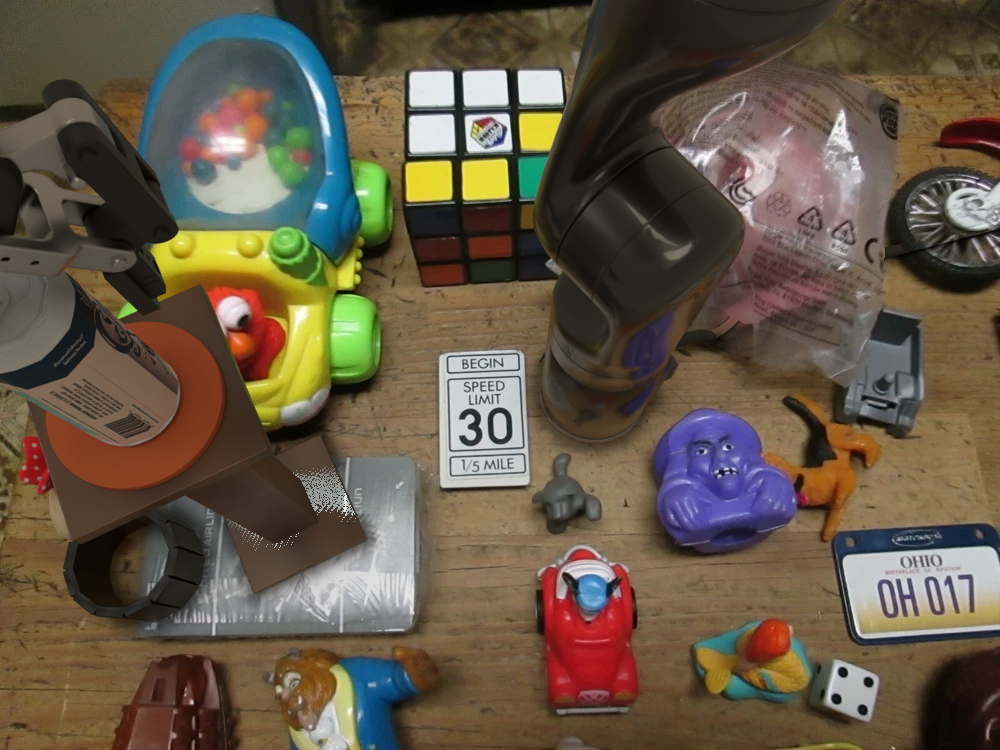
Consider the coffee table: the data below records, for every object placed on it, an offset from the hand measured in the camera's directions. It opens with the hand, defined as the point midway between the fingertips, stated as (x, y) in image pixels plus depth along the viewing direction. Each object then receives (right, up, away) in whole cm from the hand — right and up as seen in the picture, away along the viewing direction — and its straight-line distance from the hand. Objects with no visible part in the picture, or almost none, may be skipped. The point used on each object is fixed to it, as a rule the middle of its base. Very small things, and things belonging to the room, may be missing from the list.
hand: (43, 337), depth 33 cm
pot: (-11, -17, +36) cm, 42 cm away
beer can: (0, -3, +8) cm, 9 cm away
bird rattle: (-15, -12, +39) cm, 43 cm away
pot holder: (0, -3, +9) cm, 9 cm away
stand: (0, -13, +38) cm, 40 cm away
